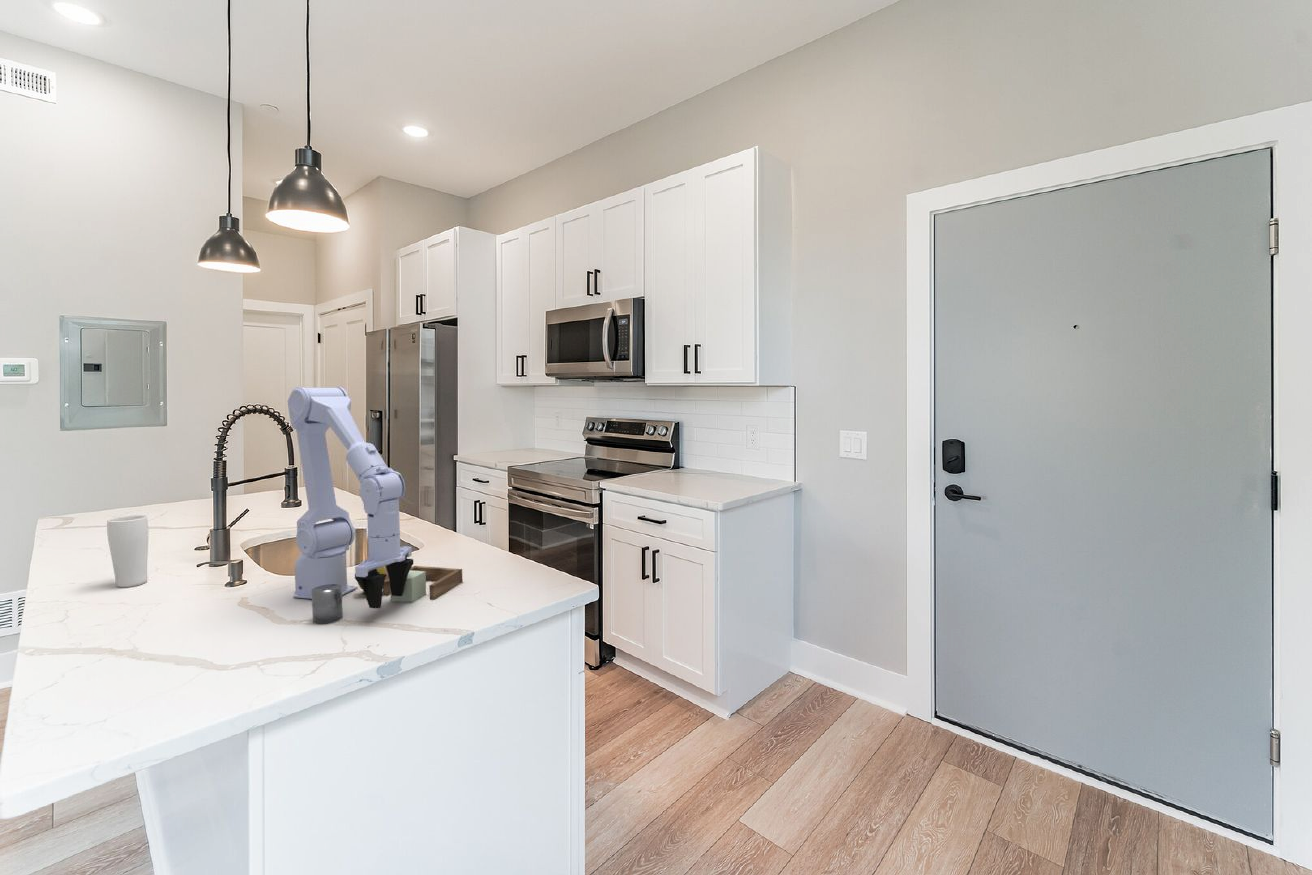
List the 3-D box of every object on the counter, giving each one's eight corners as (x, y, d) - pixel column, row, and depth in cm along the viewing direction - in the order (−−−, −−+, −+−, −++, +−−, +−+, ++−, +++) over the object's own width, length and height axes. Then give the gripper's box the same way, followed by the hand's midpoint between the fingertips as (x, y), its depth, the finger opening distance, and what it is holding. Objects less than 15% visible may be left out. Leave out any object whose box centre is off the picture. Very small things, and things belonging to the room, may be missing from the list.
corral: (382, 595, 126) (382, 581, 126) (415, 578, 137) (414, 565, 137) (434, 599, 124) (433, 585, 124) (462, 581, 135) (462, 569, 135)
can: (306, 623, 112) (305, 591, 111) (326, 613, 116) (324, 583, 116) (329, 625, 111) (328, 593, 110) (348, 615, 115) (347, 585, 115)
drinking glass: (104, 586, 131) (99, 519, 129) (140, 577, 137) (136, 513, 136) (122, 591, 128) (117, 522, 127) (158, 581, 134) (154, 516, 133)
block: (390, 600, 123) (389, 577, 123) (405, 592, 128) (404, 569, 128) (412, 602, 122) (411, 578, 122) (426, 594, 127) (425, 571, 127)
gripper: (377, 544, 109) (380, 616, 110) (423, 526, 123) (425, 590, 124) (344, 542, 110) (347, 613, 112) (393, 525, 125) (395, 588, 126)
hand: (386, 601), depth 118 cm, fingers open, 6 cm apart
